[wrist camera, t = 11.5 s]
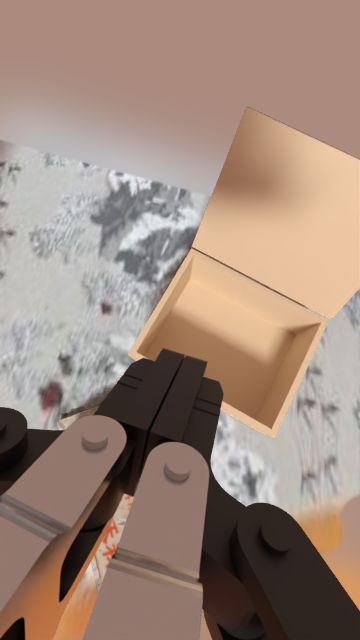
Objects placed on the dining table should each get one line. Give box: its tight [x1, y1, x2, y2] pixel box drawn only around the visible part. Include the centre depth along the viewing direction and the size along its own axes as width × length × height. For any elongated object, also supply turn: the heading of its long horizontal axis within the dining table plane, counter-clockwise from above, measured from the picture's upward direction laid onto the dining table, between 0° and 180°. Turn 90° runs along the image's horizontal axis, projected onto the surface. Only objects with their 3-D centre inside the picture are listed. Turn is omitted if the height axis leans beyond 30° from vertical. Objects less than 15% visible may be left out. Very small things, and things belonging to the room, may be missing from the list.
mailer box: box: [128, 248, 329, 438], centre depth 35 cm, size 16×13×8 cm
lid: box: [192, 107, 360, 319], centre depth 28 cm, size 16×13×1 cm
